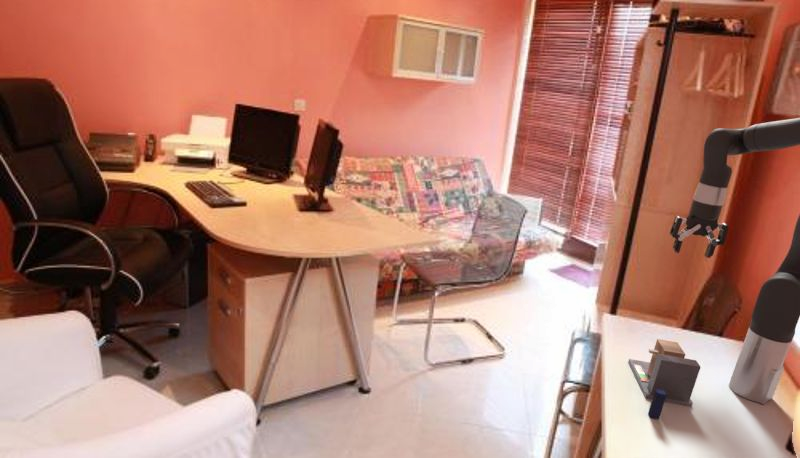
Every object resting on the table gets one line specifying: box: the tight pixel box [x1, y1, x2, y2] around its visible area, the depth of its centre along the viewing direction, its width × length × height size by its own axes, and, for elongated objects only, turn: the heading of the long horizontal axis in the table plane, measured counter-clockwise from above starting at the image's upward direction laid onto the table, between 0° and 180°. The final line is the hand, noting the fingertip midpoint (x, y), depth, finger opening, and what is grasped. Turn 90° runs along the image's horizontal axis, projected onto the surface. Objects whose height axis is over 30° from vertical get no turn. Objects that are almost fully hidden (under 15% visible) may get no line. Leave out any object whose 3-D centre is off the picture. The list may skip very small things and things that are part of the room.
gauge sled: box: [647, 338, 686, 377], centre depth 138 cm, size 6×7×10 cm
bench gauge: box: [627, 354, 701, 407], centre depth 138 cm, size 17×11×11 cm, turn 172°
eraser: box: [648, 389, 666, 420], centre depth 125 cm, size 2×2×7 cm
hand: (691, 254), depth 156 cm, fingers open, 8 cm apart
